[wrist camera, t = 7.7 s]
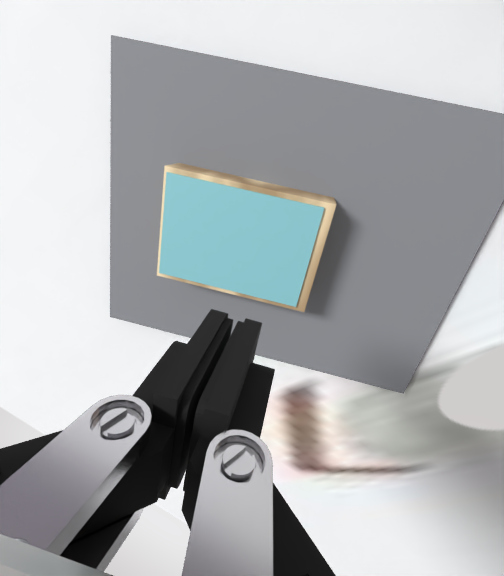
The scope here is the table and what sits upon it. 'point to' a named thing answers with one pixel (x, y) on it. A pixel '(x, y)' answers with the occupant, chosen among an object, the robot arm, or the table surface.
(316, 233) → the maple tile
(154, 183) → the rubber mat
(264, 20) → the table surface
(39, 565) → the robot arm
